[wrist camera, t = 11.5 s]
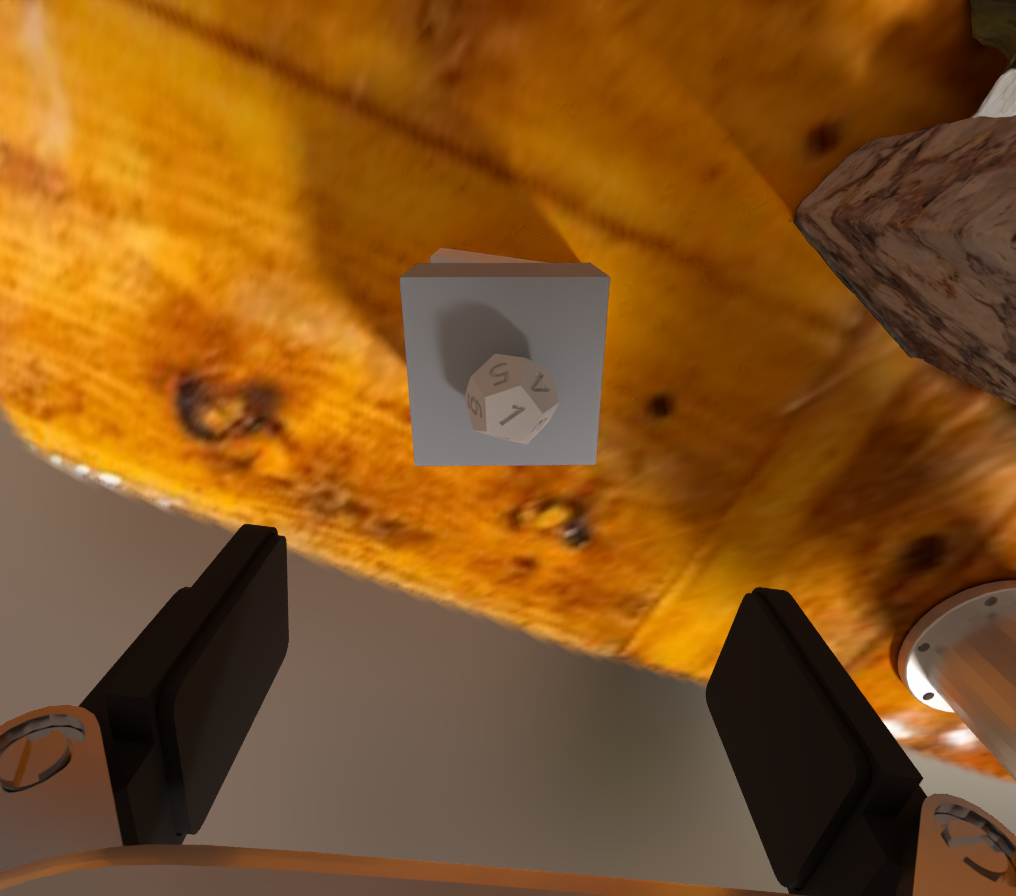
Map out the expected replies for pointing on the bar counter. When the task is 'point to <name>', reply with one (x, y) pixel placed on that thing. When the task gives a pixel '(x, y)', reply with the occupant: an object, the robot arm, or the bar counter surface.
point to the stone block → (930, 243)
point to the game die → (511, 398)
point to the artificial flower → (1010, 28)
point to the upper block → (508, 331)
